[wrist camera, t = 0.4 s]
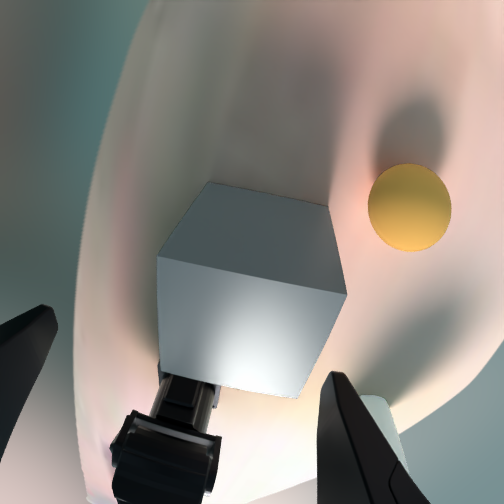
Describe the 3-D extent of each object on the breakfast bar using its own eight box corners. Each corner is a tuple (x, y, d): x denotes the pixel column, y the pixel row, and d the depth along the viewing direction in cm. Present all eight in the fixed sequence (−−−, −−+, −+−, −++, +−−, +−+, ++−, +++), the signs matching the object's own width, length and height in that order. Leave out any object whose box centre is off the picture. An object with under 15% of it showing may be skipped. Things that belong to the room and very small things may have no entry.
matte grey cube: (298, 299, 24) (297, 398, 16) (197, 279, 24) (160, 370, 16) (328, 206, 20) (347, 294, 12) (208, 182, 20) (156, 256, 12)
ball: (416, 234, 20) (442, 276, 16) (350, 217, 20) (365, 258, 16) (441, 167, 17) (479, 196, 13) (373, 143, 17) (398, 167, 13)
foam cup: (304, 404, 31) (299, 516, 20) (385, 375, 28) (403, 497, 17) (340, 435, 35) (341, 527, 24) (408, 411, 31) (423, 508, 20)
